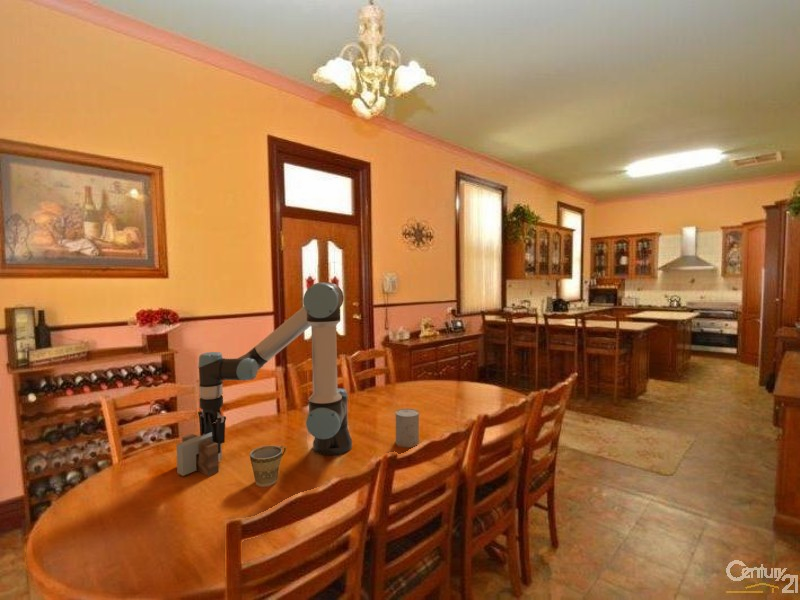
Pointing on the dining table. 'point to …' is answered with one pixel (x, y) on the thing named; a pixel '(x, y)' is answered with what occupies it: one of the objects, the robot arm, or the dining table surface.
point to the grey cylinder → (407, 427)
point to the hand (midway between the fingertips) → (212, 460)
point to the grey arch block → (190, 453)
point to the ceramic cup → (266, 464)
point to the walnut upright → (205, 456)
